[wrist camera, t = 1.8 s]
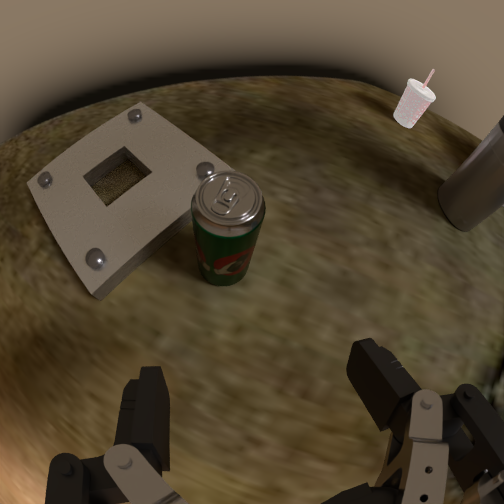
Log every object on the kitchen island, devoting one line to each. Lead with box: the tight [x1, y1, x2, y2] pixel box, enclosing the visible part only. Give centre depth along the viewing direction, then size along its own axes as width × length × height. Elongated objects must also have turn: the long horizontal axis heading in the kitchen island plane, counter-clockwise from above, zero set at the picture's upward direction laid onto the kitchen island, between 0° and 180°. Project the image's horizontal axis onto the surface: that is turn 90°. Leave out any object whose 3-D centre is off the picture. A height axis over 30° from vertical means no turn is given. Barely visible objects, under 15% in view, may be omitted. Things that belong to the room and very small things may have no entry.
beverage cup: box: [394, 69, 436, 128], centre depth 39 cm, size 6×6×14 cm
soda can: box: [191, 171, 266, 286], centre depth 23 cm, size 5×5×12 cm
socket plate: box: [27, 102, 235, 301], centre depth 29 cm, size 20×20×3 cm
